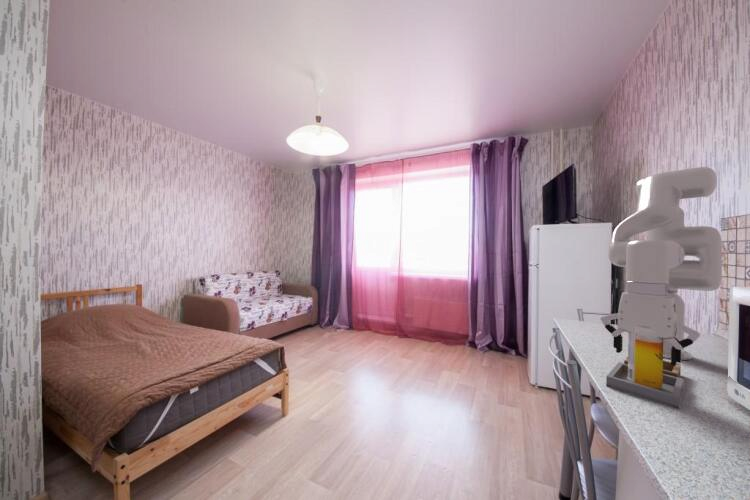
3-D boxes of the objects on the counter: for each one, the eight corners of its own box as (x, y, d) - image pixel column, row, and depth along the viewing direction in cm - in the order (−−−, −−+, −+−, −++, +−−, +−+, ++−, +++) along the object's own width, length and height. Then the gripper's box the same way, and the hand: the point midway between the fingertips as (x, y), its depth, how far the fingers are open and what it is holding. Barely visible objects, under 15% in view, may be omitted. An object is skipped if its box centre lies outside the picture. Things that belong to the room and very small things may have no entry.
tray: (618, 371, 76) (618, 362, 75) (683, 388, 66) (683, 378, 66) (606, 386, 67) (606, 376, 67) (678, 409, 57) (678, 397, 57)
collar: (630, 362, 81) (631, 352, 81) (680, 375, 74) (680, 364, 74) (624, 371, 75) (624, 360, 75) (677, 385, 67) (677, 374, 67)
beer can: (669, 392, 63) (671, 329, 63) (639, 389, 64) (640, 327, 64) (649, 380, 69) (650, 322, 69) (621, 377, 70) (622, 321, 70)
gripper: (701, 292, 62) (700, 366, 62) (605, 284, 76) (604, 344, 76) (700, 295, 57) (698, 375, 57) (598, 286, 71) (596, 350, 71)
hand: (645, 357), depth 66 cm, fingers open, 9 cm apart
